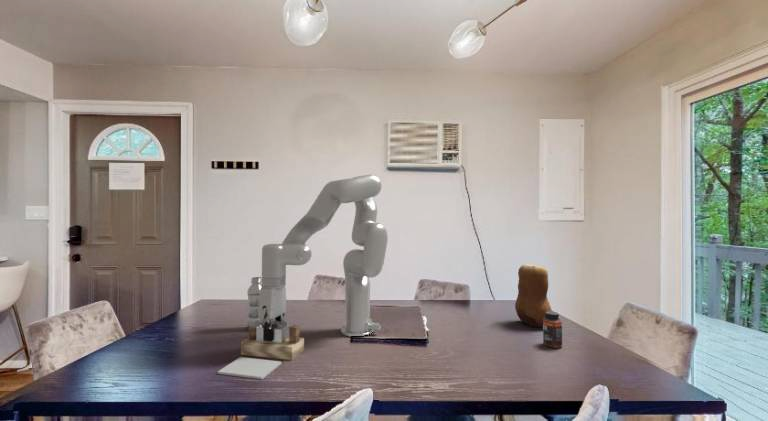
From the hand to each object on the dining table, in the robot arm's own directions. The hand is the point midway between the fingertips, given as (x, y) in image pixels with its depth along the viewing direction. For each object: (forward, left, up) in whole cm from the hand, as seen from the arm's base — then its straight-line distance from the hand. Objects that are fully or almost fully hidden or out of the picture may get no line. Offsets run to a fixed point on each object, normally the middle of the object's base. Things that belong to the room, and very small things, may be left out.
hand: (273, 337), depth 109 cm
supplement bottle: (-91, -28, -5) cm, 95 cm away
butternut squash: (-89, -50, -5) cm, 102 cm away
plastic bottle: (+19, -19, -5) cm, 27 cm away
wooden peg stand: (0, 0, -5) cm, 5 cm away
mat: (0, +12, -5) cm, 13 cm away
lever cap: (0, 0, -1) cm, 1 cm away
